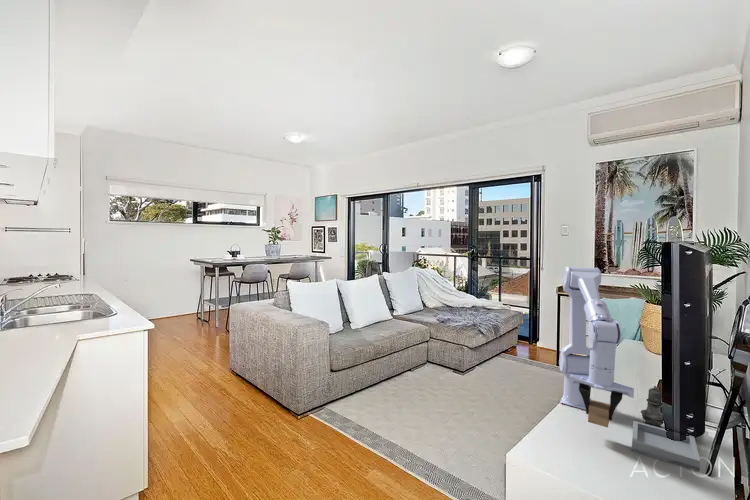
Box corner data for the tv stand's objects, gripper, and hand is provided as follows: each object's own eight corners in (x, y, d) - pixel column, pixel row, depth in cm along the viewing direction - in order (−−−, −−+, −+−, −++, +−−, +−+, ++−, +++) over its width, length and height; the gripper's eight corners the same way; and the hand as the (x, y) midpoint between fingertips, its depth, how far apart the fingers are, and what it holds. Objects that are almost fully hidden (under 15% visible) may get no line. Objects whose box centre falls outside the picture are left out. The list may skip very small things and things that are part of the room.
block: (590, 415, 102) (590, 399, 102) (609, 420, 100) (610, 404, 99) (587, 422, 99) (588, 405, 98) (607, 427, 96) (608, 410, 96)
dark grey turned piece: (654, 433, 103) (657, 390, 102) (634, 422, 108) (637, 382, 108) (670, 430, 104) (673, 389, 103) (650, 420, 110) (652, 380, 109)
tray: (632, 429, 104) (633, 420, 104) (693, 446, 97) (694, 436, 97) (631, 450, 94) (632, 441, 94) (699, 471, 86) (700, 460, 86)
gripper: (568, 363, 99) (566, 413, 100) (634, 377, 91) (631, 431, 92) (572, 356, 105) (570, 403, 106) (635, 368, 97) (632, 419, 97)
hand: (598, 415), depth 99 cm, fingers closed on block, 4 cm apart
